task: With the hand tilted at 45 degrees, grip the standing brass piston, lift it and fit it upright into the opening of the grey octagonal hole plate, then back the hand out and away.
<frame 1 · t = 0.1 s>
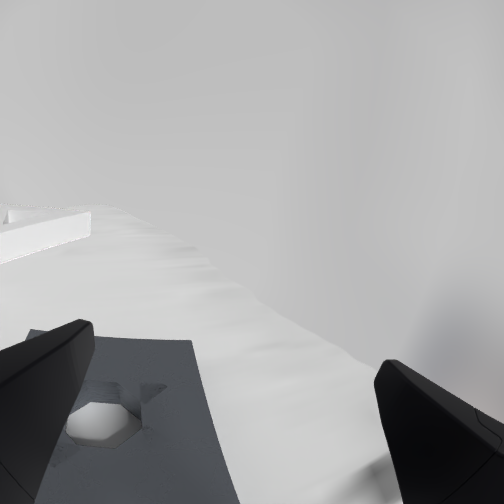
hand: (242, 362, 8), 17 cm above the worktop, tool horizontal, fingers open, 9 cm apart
triangle block: (12, 250, 46), on the worktop
grey octagonal hole plate: (103, 432, 19), on the worktop
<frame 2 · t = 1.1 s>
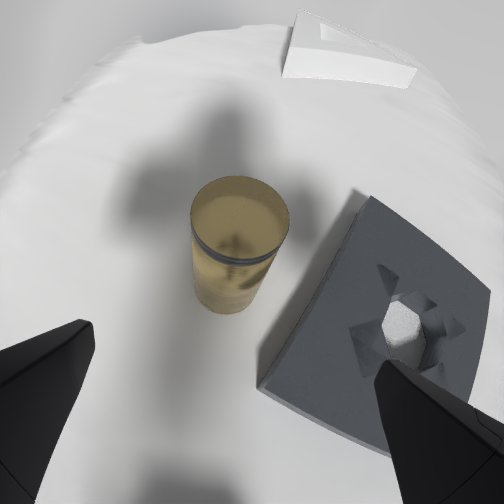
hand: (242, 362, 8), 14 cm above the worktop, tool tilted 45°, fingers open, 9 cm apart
triangle block: (319, 65, 47), on the worktop
grey octagonal hole plate: (397, 338, 24), on the worktop
piston: (225, 284, 24), on the worktop
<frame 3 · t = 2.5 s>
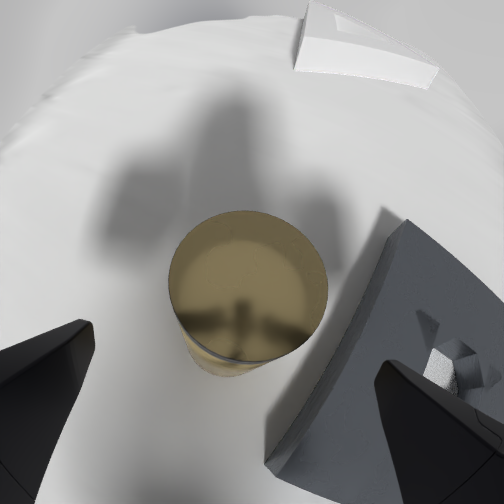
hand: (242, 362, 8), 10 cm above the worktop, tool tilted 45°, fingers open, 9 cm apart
triangle block: (334, 60, 41), on the worktop
grey octagonal hole plate: (429, 391, 18), on the worktop
piston: (226, 337, 18), on the worktop
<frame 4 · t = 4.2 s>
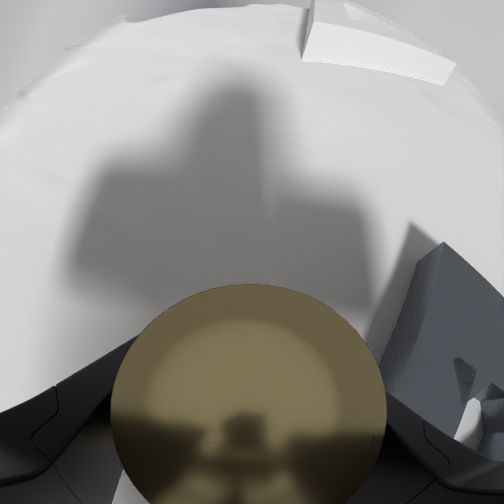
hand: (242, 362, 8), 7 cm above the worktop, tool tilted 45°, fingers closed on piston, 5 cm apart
triangle block: (345, 51, 36), on the worktop
grey octagonal hole plate: (455, 439, 13), on the worktop
piston: (222, 400, 13), on the worktop, touching gripper
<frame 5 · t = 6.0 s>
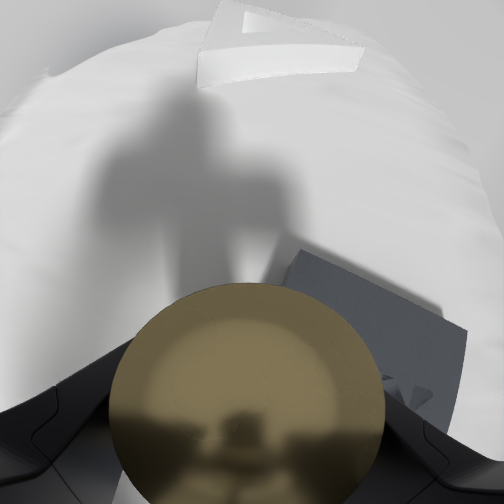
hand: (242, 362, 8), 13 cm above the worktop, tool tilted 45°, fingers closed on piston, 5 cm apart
triangle block: (247, 62, 40), on the worktop
grey octagonal hole plate: (347, 416, 20), on the worktop
piston: (222, 399, 13), point 7 cm above the worktop, touching gripper
when the fingers open (8 cm above the worktop, at t = 8.3 s): piston drops 2 cm, resting in grey octagonal hole plate.
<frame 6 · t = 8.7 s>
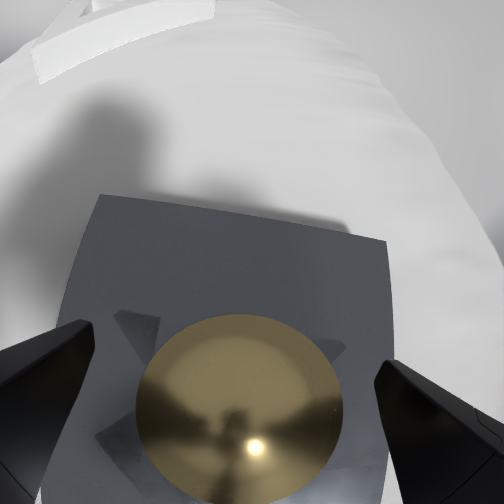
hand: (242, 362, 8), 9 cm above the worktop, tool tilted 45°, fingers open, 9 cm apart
triangle block: (96, 44, 32), on the worktop
grey octagonal hole plate: (220, 398, 15), on the worktop
piston: (220, 399, 15), resting in grey octagonal hole plate
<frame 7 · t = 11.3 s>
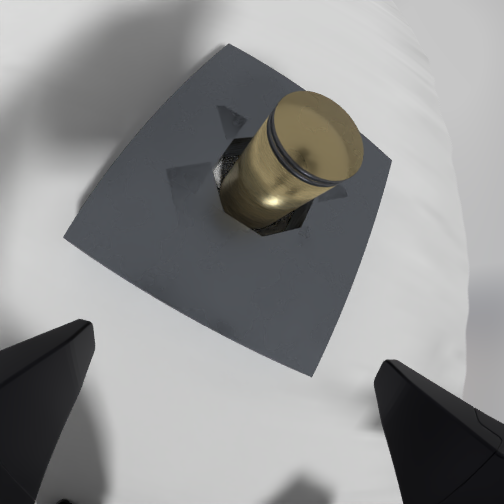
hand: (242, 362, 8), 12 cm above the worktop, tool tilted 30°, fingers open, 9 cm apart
grey octagonal hole plate: (252, 196, 22), on the worktop
piston: (251, 196, 22), resting in grey octagonal hole plate
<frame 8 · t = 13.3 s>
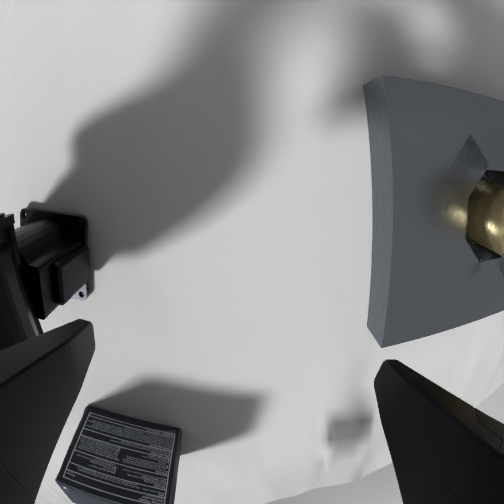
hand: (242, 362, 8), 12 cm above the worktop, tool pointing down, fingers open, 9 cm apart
small box: (134, 432, 26), on the worktop
grey octagonal hole plate: (472, 208, 19), on the worktop
piston: (471, 208, 19), resting in grey octagonal hole plate
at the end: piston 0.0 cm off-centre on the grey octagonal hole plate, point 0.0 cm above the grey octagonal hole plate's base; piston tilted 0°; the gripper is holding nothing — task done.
